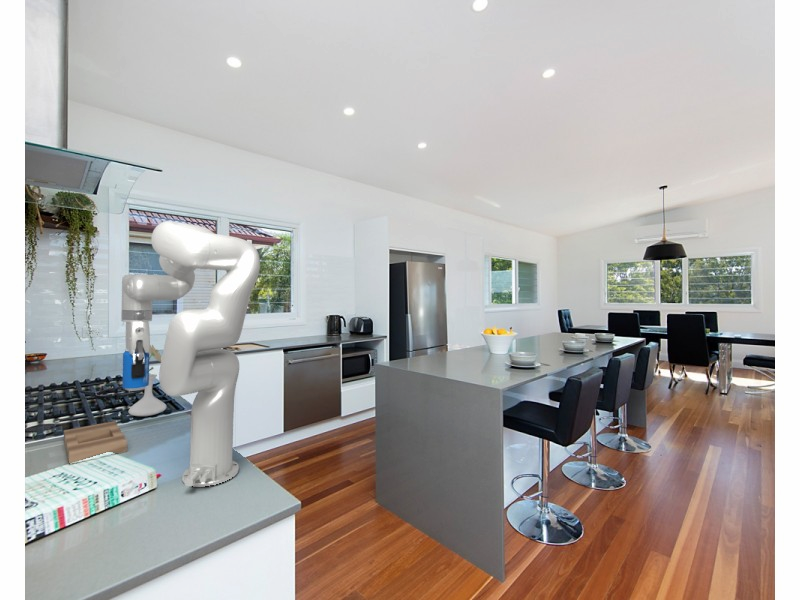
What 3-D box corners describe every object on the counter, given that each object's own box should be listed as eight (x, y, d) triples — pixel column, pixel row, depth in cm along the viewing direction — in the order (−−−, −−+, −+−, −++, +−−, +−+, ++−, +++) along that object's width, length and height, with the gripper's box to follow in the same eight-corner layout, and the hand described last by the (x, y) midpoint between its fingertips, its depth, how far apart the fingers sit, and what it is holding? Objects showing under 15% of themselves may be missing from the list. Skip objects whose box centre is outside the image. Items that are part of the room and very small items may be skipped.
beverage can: (137, 392, 107) (138, 351, 107) (116, 390, 108) (117, 350, 107) (153, 386, 114) (154, 347, 113) (133, 385, 114) (134, 346, 114)
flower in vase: (166, 416, 131) (167, 346, 130) (126, 421, 125) (128, 348, 124) (166, 405, 142) (168, 341, 141) (130, 409, 136) (131, 342, 135)
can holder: (126, 451, 103) (126, 441, 103) (69, 465, 94) (69, 453, 94) (114, 430, 117) (114, 421, 117) (63, 440, 108) (63, 430, 108)
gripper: (158, 318, 106) (156, 379, 107) (146, 313, 119) (145, 368, 119) (126, 318, 101) (124, 383, 102) (117, 314, 114) (116, 371, 114)
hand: (135, 374), depth 111 cm, fingers closed on beverage can, 6 cm apart
